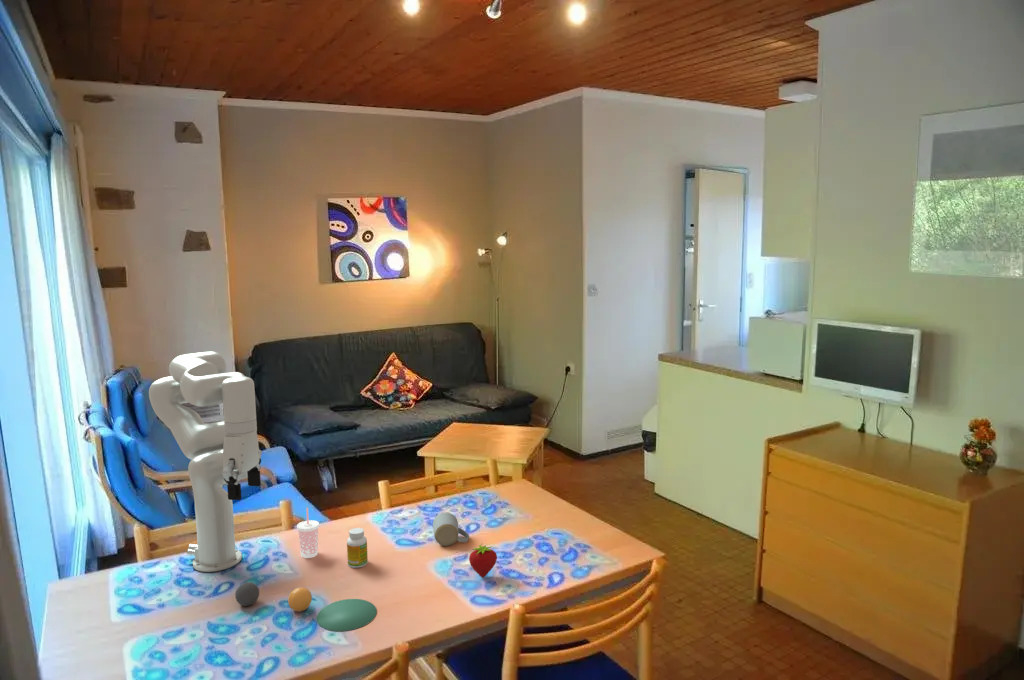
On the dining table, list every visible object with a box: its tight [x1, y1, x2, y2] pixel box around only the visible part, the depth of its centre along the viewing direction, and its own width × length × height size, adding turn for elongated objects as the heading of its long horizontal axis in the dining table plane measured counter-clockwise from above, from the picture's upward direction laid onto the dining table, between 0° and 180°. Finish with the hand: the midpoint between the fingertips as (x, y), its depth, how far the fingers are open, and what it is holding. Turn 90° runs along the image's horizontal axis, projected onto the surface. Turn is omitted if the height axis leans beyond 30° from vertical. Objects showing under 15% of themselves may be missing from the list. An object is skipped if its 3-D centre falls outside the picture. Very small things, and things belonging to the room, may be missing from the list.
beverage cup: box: [296, 507, 320, 559], centre depth 194 cm, size 6×6×14 cm
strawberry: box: [468, 542, 498, 578], centre depth 181 cm, size 6×8×10 cm
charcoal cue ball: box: [234, 581, 260, 607], centre depth 167 cm, size 6×6×6 cm
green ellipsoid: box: [316, 598, 378, 632], centre depth 163 cm, size 14×14×1 cm
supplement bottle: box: [346, 527, 368, 569], centre depth 188 cm, size 5×5×10 cm
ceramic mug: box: [432, 512, 470, 547], centre depth 203 cm, size 11×8×8 cm
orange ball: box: [287, 586, 313, 612], centre depth 165 cm, size 6×6×6 cm
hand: (244, 492), depth 172 cm, fingers open, 9 cm apart
